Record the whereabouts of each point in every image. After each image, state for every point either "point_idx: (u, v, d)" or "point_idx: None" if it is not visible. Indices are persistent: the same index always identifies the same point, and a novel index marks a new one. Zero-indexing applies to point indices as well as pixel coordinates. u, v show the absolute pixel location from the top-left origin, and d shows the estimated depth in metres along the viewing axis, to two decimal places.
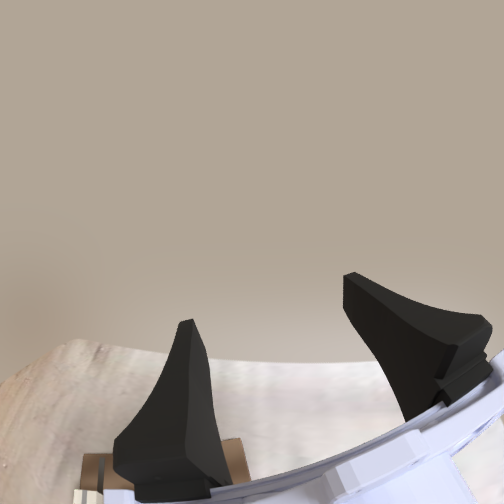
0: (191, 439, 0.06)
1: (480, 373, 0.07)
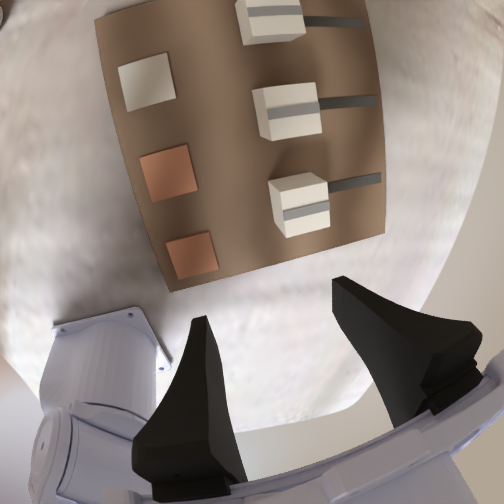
0: (213, 435, 0.07)
1: (469, 381, 0.07)
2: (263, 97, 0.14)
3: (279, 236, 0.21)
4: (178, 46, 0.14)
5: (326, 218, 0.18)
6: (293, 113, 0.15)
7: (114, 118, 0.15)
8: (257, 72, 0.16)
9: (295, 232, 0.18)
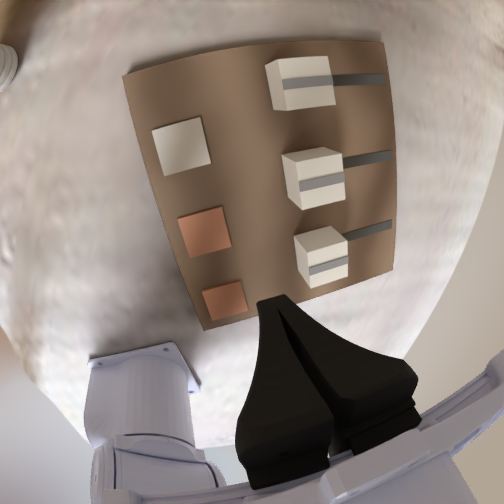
0: None
1: (402, 424, 0.07)
2: (296, 170, 0.16)
3: (301, 280, 0.24)
4: (211, 110, 0.16)
5: (345, 270, 0.21)
6: (321, 183, 0.17)
7: (151, 181, 0.17)
8: (286, 136, 0.18)
9: (318, 283, 0.21)
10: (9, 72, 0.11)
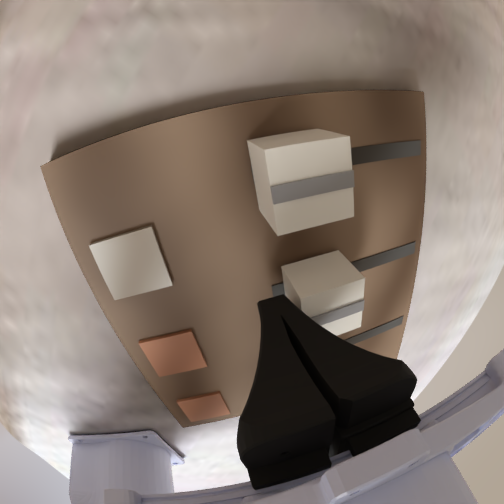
0: None
1: (401, 424, 0.07)
2: (300, 306, 0.12)
3: None
4: (167, 214, 0.12)
5: None
6: (332, 317, 0.13)
7: (100, 303, 0.13)
8: (277, 243, 0.14)
9: None
10: None
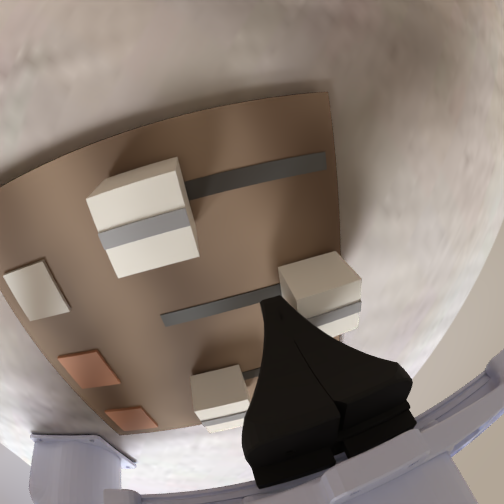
0: None
1: (397, 426, 0.07)
2: (296, 308, 0.12)
3: None
4: (53, 250, 0.11)
5: None
6: (329, 318, 0.13)
7: (21, 322, 0.12)
8: (155, 275, 0.13)
9: (218, 429, 0.15)
10: None
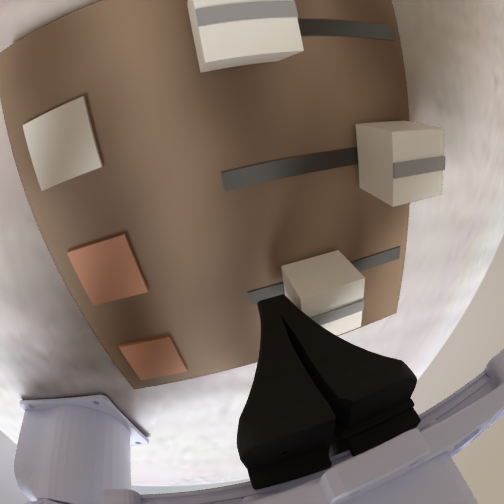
0: None
1: (401, 424, 0.07)
2: (390, 145, 0.10)
3: None
4: (100, 83, 0.09)
5: (357, 318, 0.13)
6: (419, 169, 0.10)
7: (29, 198, 0.10)
8: (224, 115, 0.10)
9: None
10: None
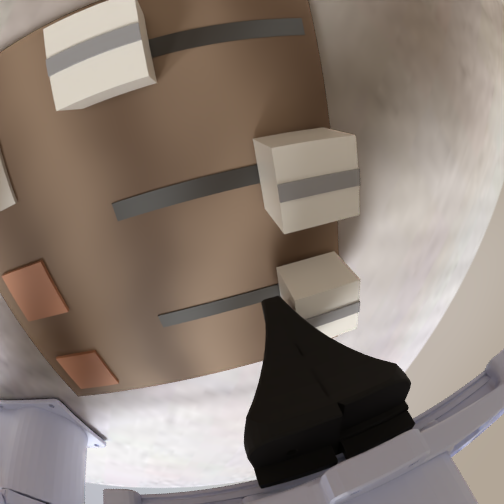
0: None
1: (395, 428, 0.07)
2: (273, 163, 0.09)
3: (183, 355, 0.16)
4: (8, 128, 0.08)
5: (353, 320, 0.13)
6: (319, 188, 0.10)
7: None
8: (109, 147, 0.10)
9: None
10: None
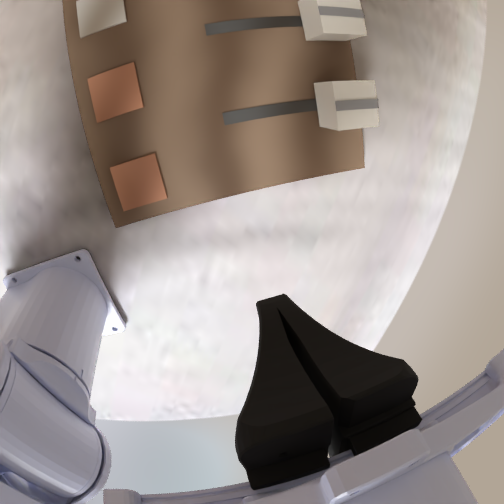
0: None
1: (402, 423, 0.07)
2: None
3: (236, 161, 0.18)
4: None
5: (375, 117, 0.16)
6: (341, 13, 0.12)
7: (68, 45, 0.12)
8: None
9: (347, 125, 0.15)
10: None
